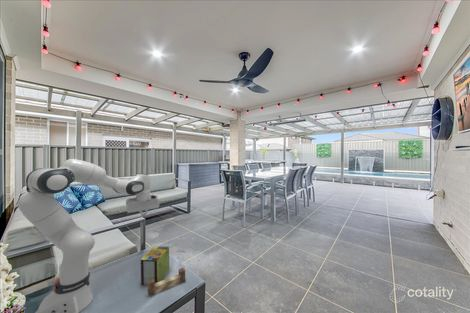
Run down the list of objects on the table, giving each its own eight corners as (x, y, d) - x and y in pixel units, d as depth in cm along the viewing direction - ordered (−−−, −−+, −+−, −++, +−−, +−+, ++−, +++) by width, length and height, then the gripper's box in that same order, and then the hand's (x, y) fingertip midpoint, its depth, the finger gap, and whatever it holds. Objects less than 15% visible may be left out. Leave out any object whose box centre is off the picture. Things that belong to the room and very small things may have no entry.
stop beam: (148, 296, 97) (148, 284, 96) (147, 291, 100) (147, 279, 100) (185, 281, 108) (185, 270, 108) (183, 277, 111) (182, 266, 111)
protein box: (169, 269, 119) (169, 246, 119) (157, 286, 104) (157, 260, 103) (154, 268, 120) (154, 245, 120) (140, 285, 105) (140, 259, 104)
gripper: (126, 199, 116) (126, 221, 116) (159, 195, 127) (160, 214, 127) (125, 197, 121) (125, 218, 121) (158, 193, 132) (158, 212, 133)
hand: (143, 216), depth 124 cm, fingers closed
